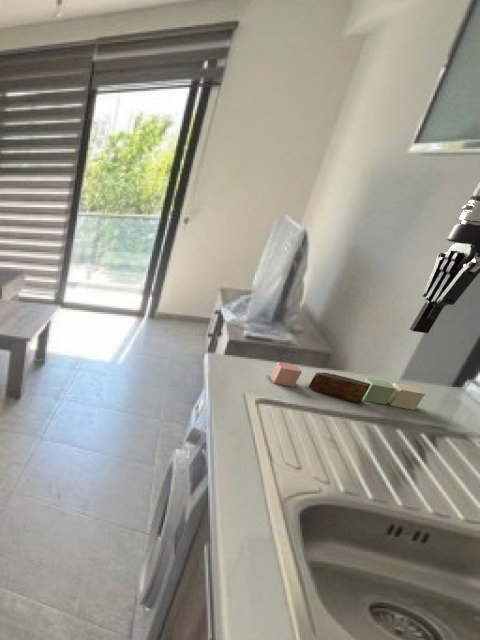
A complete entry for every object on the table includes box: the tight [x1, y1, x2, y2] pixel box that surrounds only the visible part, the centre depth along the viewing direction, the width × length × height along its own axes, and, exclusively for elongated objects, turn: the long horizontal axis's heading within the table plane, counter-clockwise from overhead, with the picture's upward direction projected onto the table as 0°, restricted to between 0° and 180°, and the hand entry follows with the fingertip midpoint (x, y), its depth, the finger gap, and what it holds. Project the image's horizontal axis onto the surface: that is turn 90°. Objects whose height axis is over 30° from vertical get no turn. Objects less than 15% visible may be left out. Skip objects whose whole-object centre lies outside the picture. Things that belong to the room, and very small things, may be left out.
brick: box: [308, 371, 370, 404], centre depth 123 cm, size 11×4×5 cm, turn 40°
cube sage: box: [362, 377, 395, 405], centre depth 122 cm, size 4×4×4 cm
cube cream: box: [387, 382, 426, 411], centre depth 120 cm, size 4×4×4 cm
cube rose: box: [270, 362, 303, 388], centre depth 129 cm, size 4×4×4 cm
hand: (418, 331), depth 111 cm, fingers closed
